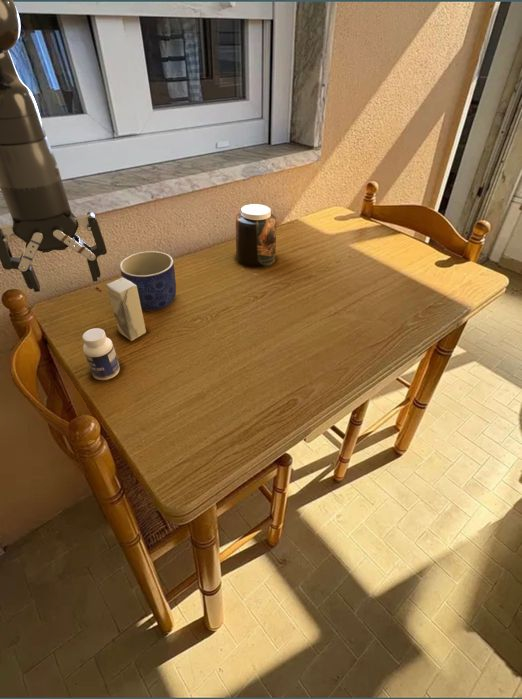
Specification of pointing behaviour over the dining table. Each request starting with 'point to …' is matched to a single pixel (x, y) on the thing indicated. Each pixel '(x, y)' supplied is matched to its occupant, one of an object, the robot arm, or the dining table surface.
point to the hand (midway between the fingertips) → (66, 284)
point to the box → (126, 308)
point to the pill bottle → (100, 354)
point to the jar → (255, 236)
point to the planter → (151, 278)
